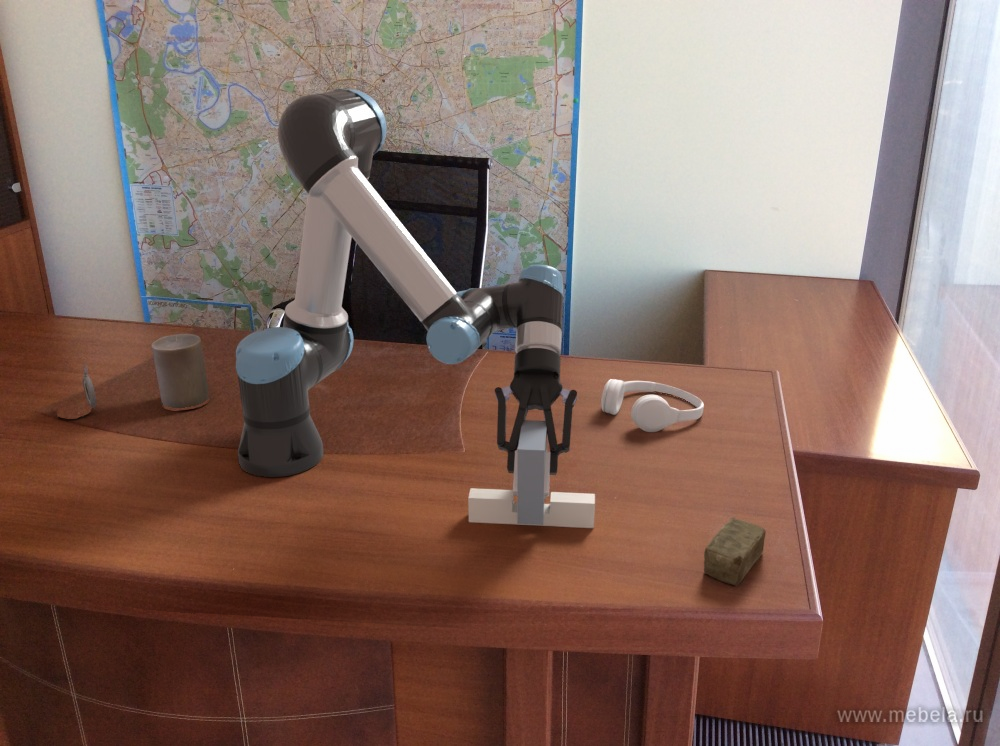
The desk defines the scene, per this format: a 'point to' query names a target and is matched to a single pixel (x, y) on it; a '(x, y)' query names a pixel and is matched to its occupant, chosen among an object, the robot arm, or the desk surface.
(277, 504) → the desk surface
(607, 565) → the desk surface
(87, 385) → the pocket watch
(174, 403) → the grey cylinder
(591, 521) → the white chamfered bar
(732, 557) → the stone block
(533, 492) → the blue-grey rectangular block
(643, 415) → the headphones
